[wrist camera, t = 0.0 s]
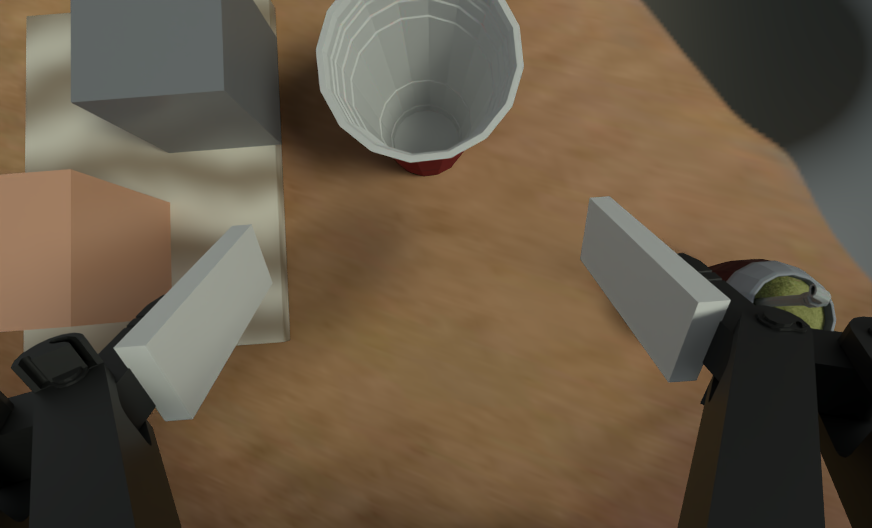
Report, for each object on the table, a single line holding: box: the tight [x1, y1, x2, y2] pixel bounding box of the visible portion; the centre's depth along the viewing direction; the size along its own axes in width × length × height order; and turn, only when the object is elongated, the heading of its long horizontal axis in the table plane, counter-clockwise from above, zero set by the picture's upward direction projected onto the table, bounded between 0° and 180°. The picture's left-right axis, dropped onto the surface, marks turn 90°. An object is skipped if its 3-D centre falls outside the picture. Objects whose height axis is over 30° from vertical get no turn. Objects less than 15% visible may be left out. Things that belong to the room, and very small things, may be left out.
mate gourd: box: [708, 259, 836, 331], centre depth 22 cm, size 8×8×15 cm
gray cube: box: [71, 0, 282, 153], centre depth 26 cm, size 9×9×8 cm
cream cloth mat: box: [24, 0, 290, 354], centre depth 30 cm, size 28×20×1 cm
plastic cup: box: [316, 0, 524, 176], centre depth 25 cm, size 11×11×12 cm
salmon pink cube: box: [0, 169, 172, 332], centre depth 25 cm, size 9×9×8 cm
